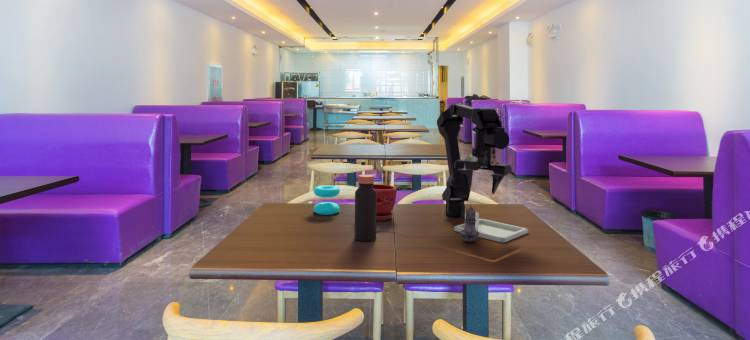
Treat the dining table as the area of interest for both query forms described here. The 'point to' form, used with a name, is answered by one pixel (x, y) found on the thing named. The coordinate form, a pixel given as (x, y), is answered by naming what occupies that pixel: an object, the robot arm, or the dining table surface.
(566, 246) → the dining table surface
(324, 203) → the donuts
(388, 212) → the plant pot
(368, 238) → the bottle
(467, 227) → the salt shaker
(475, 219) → the white smooth curved piece
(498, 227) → the tray
